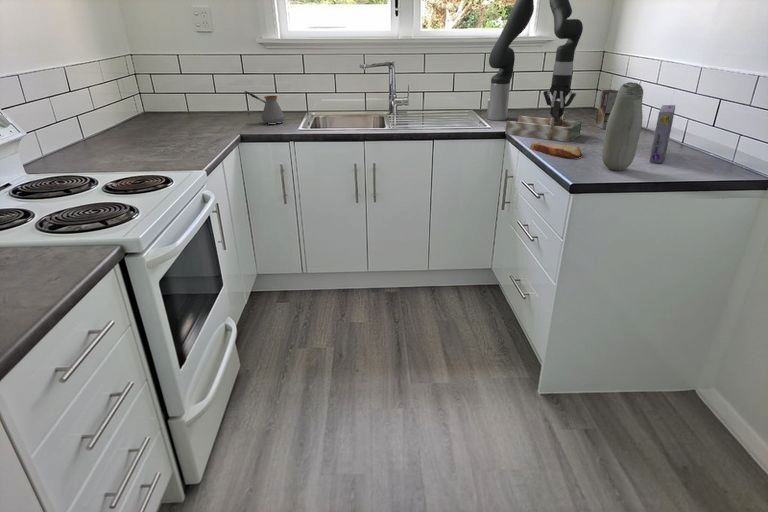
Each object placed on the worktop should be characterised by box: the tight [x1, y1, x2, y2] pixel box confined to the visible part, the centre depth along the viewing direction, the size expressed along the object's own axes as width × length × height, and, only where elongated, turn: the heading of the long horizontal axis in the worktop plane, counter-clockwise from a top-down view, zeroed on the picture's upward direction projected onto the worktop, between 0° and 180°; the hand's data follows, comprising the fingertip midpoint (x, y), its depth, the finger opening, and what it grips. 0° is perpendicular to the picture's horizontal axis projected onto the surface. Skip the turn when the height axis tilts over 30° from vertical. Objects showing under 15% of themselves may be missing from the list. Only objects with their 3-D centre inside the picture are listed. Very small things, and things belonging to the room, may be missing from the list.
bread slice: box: [529, 142, 583, 159], centre depth 187 cm, size 18×18×4 cm
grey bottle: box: [601, 81, 644, 171], centre depth 160 cm, size 10×10×28 cm
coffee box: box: [594, 89, 618, 130], centre depth 222 cm, size 9×6×16 cm
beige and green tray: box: [504, 111, 583, 143], centre depth 212 cm, size 28×17×9 cm, turn 54°
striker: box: [548, 100, 562, 127], centre depth 208 cm, size 2×12×11 cm, turn 144°
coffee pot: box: [242, 90, 286, 123], centre depth 244 cm, size 21×12×15 cm, turn 68°
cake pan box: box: [649, 104, 676, 164], centre depth 175 cm, size 19×5×18 cm, turn 150°
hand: (556, 116), depth 208 cm, fingers closed on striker, 2 cm apart
